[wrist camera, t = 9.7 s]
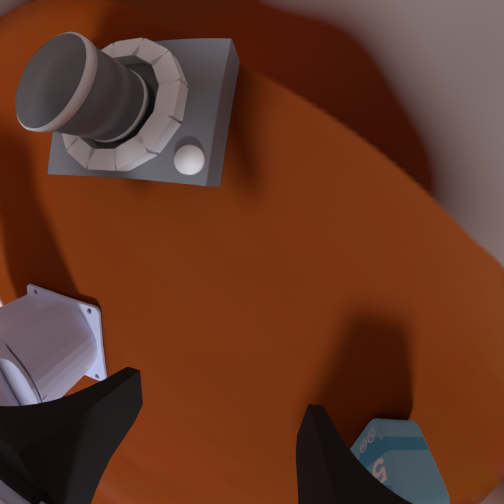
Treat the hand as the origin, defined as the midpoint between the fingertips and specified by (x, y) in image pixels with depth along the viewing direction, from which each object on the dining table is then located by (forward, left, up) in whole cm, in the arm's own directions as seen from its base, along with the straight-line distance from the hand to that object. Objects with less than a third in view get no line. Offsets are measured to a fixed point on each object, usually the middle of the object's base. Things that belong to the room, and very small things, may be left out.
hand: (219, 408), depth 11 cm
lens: (-9, +13, -6) cm, 17 cm away
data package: (+14, -14, -10) cm, 22 cm away
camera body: (-9, +13, -10) cm, 19 cm away
